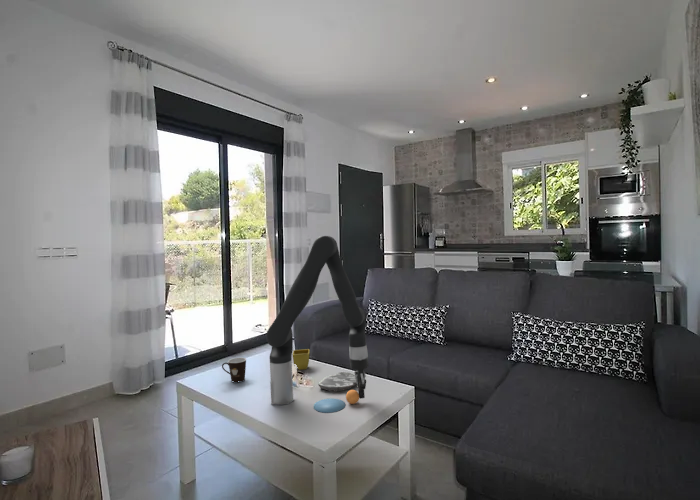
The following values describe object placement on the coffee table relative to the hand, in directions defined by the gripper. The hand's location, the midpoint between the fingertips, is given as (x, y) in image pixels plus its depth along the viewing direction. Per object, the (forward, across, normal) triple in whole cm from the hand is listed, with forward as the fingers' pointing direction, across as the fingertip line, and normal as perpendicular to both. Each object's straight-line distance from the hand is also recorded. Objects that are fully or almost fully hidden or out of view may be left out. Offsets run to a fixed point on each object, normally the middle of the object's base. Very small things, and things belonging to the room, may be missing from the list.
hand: (361, 397), depth 157 cm
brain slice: (+2, -21, -6) cm, 22 cm away
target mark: (+1, 0, -14) cm, 14 cm away
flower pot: (+1, -50, -22) cm, 55 cm away
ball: (-1, 0, -4) cm, 4 cm away
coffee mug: (0, -42, -56) cm, 70 cm away
